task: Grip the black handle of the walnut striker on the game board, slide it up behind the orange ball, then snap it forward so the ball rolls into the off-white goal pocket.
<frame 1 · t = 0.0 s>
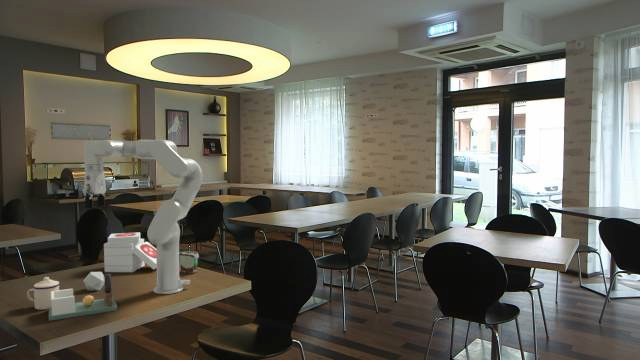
hand: (95, 206, 208), 37 cm above the table, tool pointing down, fingers open, 9 cm apart
ball: (88, 300, 182), point 3 cm above the table, touching game board
food container: (191, 271, 242), on the table
die: (95, 290, 210), on the table
teacup with lid: (43, 307, 186), on the table
game board: (83, 310, 181), on the table
striker: (107, 288, 185), point 7 cm above the table, slide at 0.0 cm
pizza boxes: (135, 269, 249), on the table
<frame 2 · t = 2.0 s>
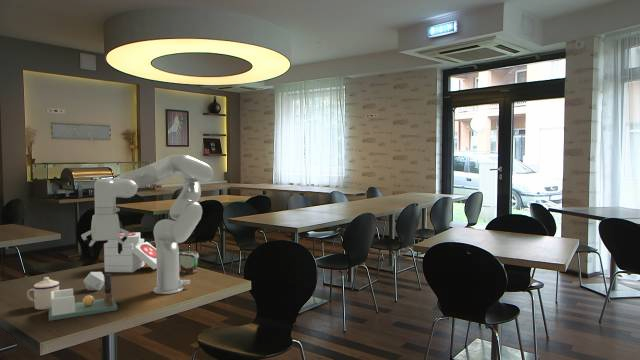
hand: (106, 254, 184), 21 cm above the table, tool pointing down, fingers open, 9 cm apart
nothing on the table moved.
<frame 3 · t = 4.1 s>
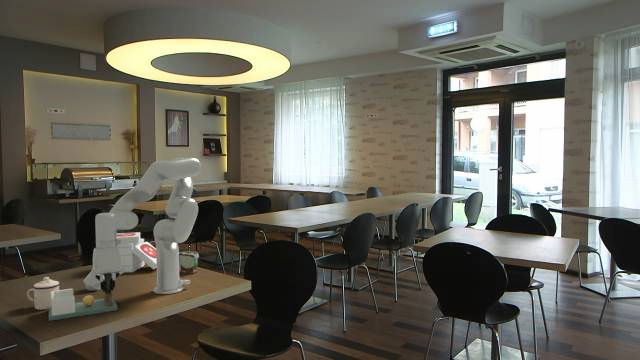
hand: (107, 289, 185), 7 cm above the table, tool pointing down, fingers closed on striker, 2 cm apart
striker: (107, 288, 185), point 7 cm above the table, slide at 0.0 cm, touching gripper
everything else where it was.
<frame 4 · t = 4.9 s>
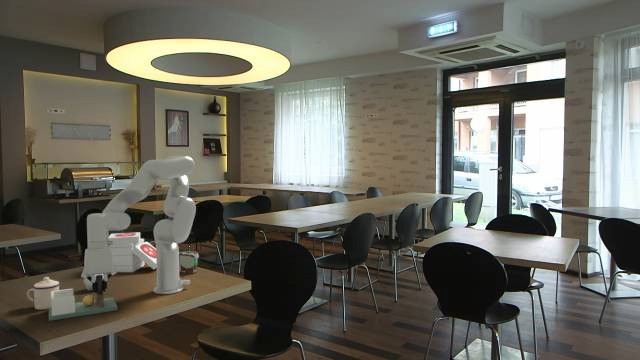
hand: (99, 291, 184), 7 cm above the table, tool pointing down, fingers closed on striker, 2 cm apart
striker: (99, 289, 184), point 7 cm above the table, slide at 3.0 cm, touching gripper
everything else where it was.
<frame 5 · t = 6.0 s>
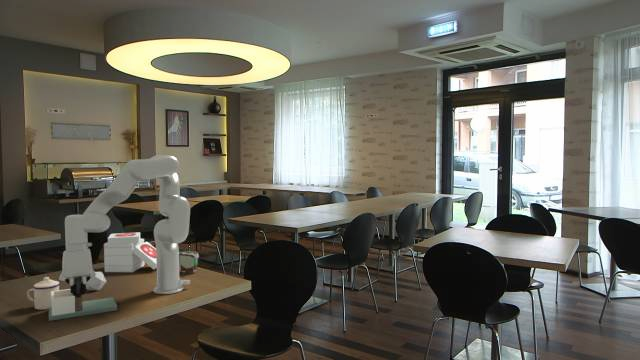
hand: (78, 293, 180), 7 cm above the table, tool pointing down, fingers closed on striker, 2 cm apart
ball: (61, 304, 177), point 3 cm above the table, tilted 112°, touching game board
striker: (78, 292, 180), point 7 cm above the table, slide at 10.4 cm, touching gripper
everything else where it was.
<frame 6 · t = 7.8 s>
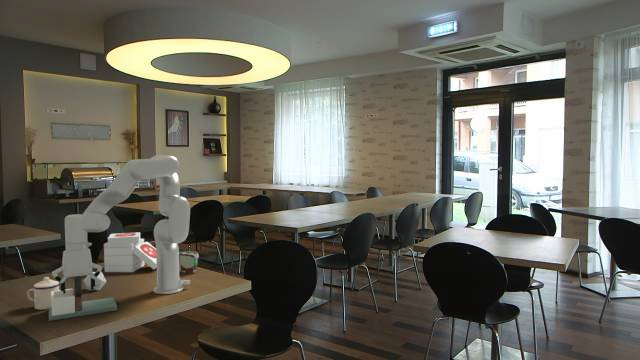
hand: (78, 290, 180), 8 cm above the table, tool pointing down, fingers open, 9 cm apart
ball: (69, 303, 178), point 3 cm above the table, tilted 173°, touching game board
striker: (78, 292, 180), point 7 cm above the table, slide at 10.5 cm
everything else where it was.
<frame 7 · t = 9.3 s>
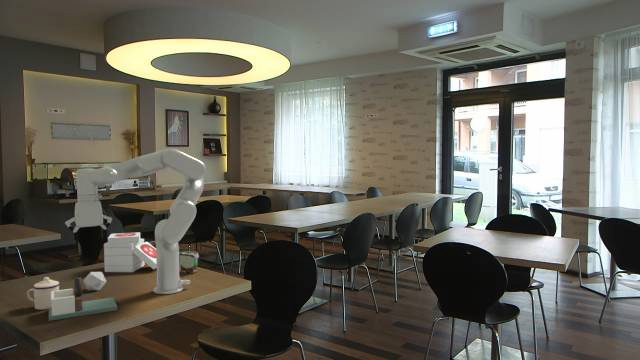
hand: (90, 240, 191), 25 cm above the table, tool pointing down, fingers open, 9 cm apart
ball: (67, 303, 178), point 3 cm above the table, tilted 166°, touching game board
everything else where it was.
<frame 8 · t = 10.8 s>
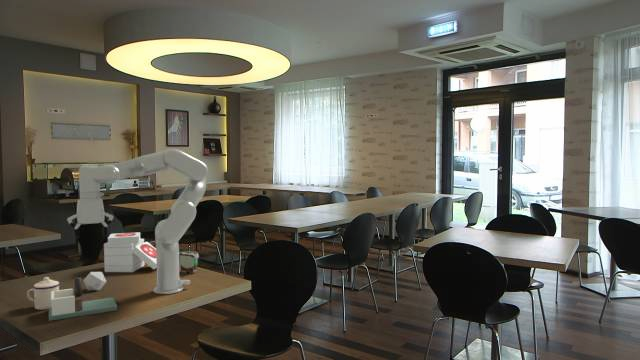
hand: (91, 237, 193), 26 cm above the table, tool pointing down, fingers open, 9 cm apart
ball: (65, 303, 178), point 3 cm above the table, tilted 145°, touching game board
everything else where it was.
at the end: ball inside the target area (0.2 cm from its centre), point 3.5 cm above the table; striker slide at 10.5 cm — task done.
